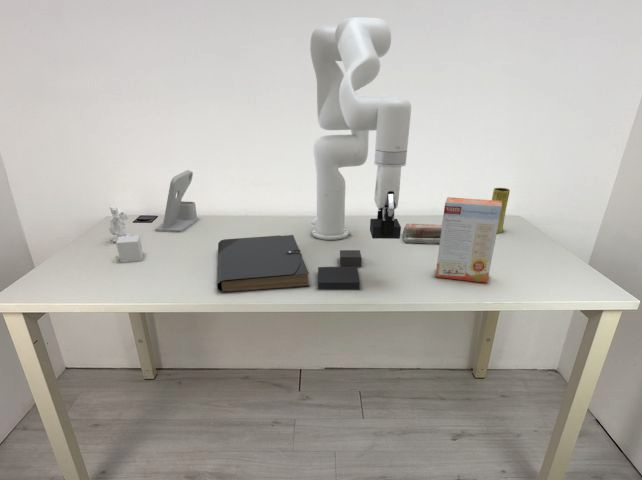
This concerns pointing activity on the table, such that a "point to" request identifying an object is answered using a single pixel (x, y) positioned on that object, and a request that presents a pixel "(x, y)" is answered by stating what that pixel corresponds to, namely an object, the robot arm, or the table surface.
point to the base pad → (338, 278)
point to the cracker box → (468, 238)
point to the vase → (503, 196)
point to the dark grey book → (260, 264)
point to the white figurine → (118, 222)
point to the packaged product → (422, 233)
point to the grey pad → (350, 258)
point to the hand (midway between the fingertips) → (384, 230)
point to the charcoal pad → (376, 228)
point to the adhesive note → (129, 248)
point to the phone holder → (179, 205)
